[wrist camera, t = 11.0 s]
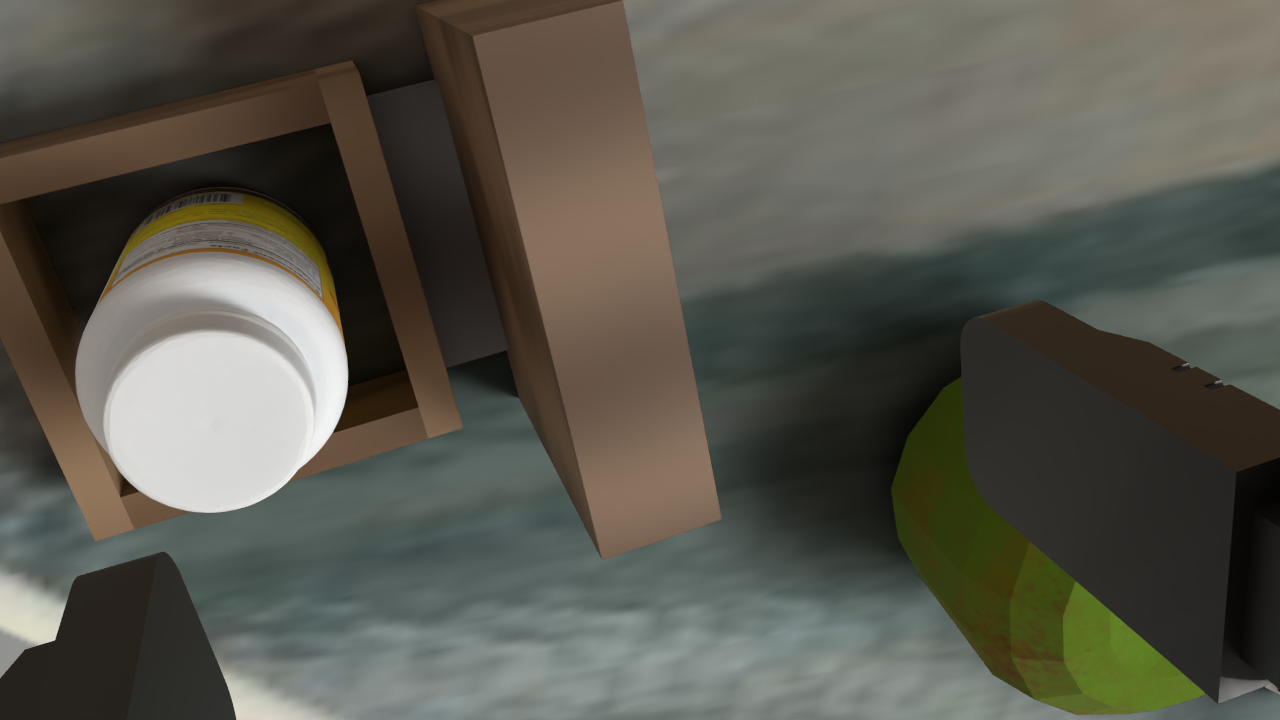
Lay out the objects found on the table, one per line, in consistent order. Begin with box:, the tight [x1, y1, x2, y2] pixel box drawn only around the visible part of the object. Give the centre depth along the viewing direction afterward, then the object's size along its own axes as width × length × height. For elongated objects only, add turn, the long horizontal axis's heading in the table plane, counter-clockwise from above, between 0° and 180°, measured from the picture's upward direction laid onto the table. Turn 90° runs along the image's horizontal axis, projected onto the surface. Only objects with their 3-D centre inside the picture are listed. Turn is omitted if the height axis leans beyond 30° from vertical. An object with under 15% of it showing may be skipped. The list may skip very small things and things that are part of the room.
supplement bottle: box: [75, 187, 348, 513], centre depth 26 cm, size 6×6×10 cm
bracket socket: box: [0, 0, 722, 560], centre depth 27 cm, size 12×15×10 cm
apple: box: [891, 376, 1205, 715], centre depth 36 cm, size 11×11×11 cm
